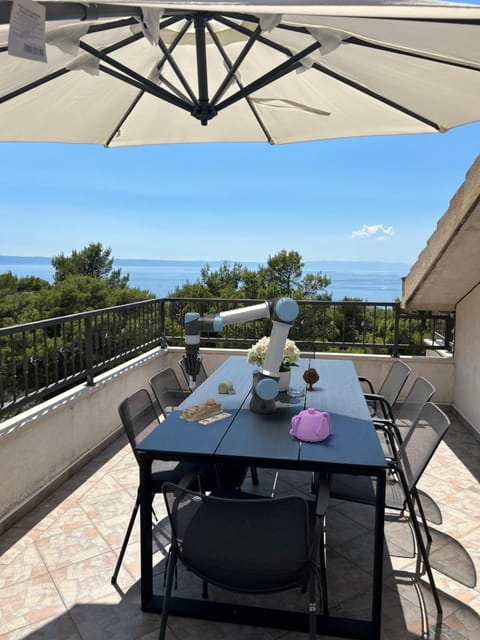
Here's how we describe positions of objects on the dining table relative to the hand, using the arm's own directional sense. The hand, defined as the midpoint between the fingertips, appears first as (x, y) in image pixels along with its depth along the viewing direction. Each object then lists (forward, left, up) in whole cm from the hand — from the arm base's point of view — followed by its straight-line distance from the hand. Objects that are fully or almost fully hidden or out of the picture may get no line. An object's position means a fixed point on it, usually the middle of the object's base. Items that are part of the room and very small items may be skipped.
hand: (192, 387), depth 239 cm
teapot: (-63, -17, -17) cm, 67 cm away
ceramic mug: (+20, -49, -17) cm, 56 cm away
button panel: (0, -7, -16) cm, 18 cm away
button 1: (0, 0, -15) cm, 15 cm away
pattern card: (-10, -7, -16) cm, 20 cm away
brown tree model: (-16, -91, -17) cm, 94 cm away
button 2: (0, -14, -13) cm, 19 cm away
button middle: (0, -7, -15) cm, 16 cm away
